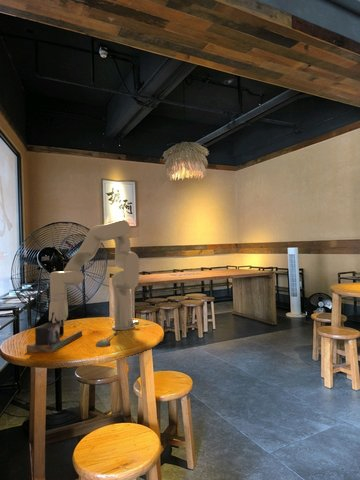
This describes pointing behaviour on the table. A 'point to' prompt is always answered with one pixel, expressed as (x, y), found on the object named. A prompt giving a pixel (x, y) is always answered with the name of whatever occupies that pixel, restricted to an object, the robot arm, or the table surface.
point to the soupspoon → (104, 341)
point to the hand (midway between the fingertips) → (59, 334)
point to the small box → (47, 334)
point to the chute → (55, 346)
